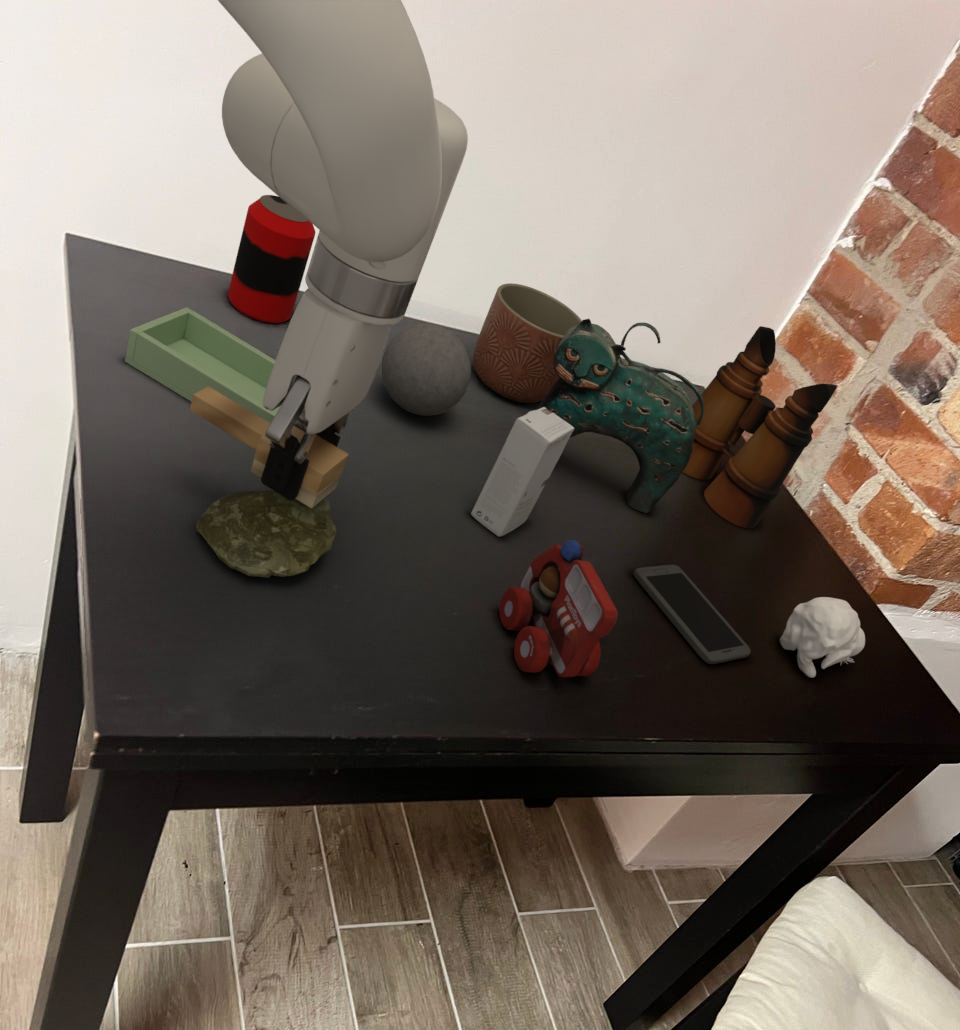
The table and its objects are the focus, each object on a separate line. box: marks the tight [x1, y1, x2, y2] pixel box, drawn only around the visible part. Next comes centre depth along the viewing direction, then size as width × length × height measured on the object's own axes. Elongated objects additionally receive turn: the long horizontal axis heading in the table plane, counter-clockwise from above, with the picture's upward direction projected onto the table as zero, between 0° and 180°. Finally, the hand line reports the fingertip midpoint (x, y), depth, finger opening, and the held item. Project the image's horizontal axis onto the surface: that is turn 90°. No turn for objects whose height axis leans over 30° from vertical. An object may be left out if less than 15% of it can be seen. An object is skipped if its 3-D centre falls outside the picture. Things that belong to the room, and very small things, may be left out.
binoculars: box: [682, 325, 838, 529], centre depth 118 cm, size 18×8×20 cm, turn 31°
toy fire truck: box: [498, 539, 619, 678], centre depth 81 cm, size 7×12×10 cm, turn 16°
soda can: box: [227, 194, 316, 324], centre depth 104 cm, size 8×8×12 cm
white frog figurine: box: [779, 596, 866, 679], centre depth 100 cm, size 6×8×12 cm
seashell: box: [195, 490, 337, 579], centre depth 77 cm, size 10×7×10 cm
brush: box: [189, 387, 350, 508], centre depth 76 cm, size 13×5×4 cm, turn 68°
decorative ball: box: [381, 322, 471, 417], centre depth 102 cm, size 10×10×10 cm
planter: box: [472, 283, 583, 404], centre depth 117 cm, size 12×12×11 cm
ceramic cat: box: [537, 318, 704, 514], centre depth 104 cm, size 20×6×20 cm, turn 81°
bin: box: [124, 306, 306, 423], centre depth 91 cm, size 17×9×4 cm, turn 68°
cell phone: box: [632, 564, 752, 665], centre depth 98 cm, size 7×14×1 cm, turn 32°
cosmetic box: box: [470, 407, 574, 538], centre depth 93 cm, size 6×4×12 cm
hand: (295, 476), depth 77 cm, fingers closed on brush, 4 cm apart
